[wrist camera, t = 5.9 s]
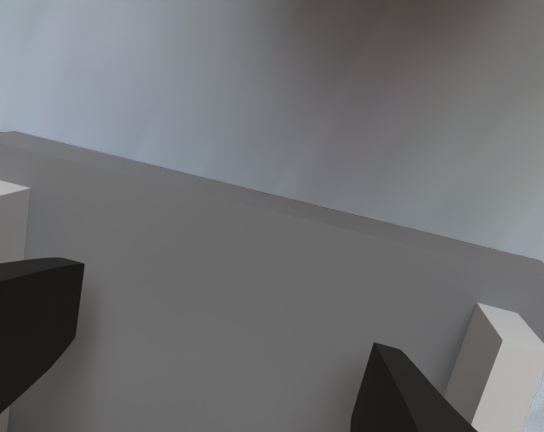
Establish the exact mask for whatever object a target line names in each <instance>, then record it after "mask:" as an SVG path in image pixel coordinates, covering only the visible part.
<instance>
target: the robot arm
mask: <svg viewBox="0 0 544 432" xmlns="http://www.w3.org/2000/svg"><path fill="white" fill-rule="evenodd" d="M84 268H85V264H84V263H81V262H77V261H73V260H70V259H66V258H62V257H49V258H37V259H28V260H21V261H13V262H6V263H0V414H1V413H2V412H3V411H4V410H5V409H6V408H8V407H9V406H10V405H11V404H12V403H13V402H14V401H15V400H16V399H17V398H19V397H20V396H21V395H22V394H23V393H24V392H25V391H26V390H27V389H29V388H30V387H31V386H32V385H33V384H34V383H35V382H36V381H37V380H38V379H39V378H40V377H42V376H43V375H44V374H45V373H46V372H47V371H48V370H49V369H50V368H51V367H52V366H53V365H54V363H55V362H56V361H57V360H58V359H59V358H60V356H61V355H62V354H63V353H64V351H65V350H66V349H67V348H68V346H69V345H70V344H71V343H72V341H73V340H74V339H75V337H76V330H77V322H78V314H79V306H80V299H81V291H82V283H83V275H84ZM350 432H478V431H477V430H476V429H475V428H474V427H473V426H472V425H471V424H470V423H468V422H467V421H466V420H465V419H464V418H463V417H462V416H461V415H460V414H459V413H458V412H457V411H456V410H455V409H454V408H453V407H452V405H451V404H450V403H449V402H448V401H447V400H446V399H445V398H444V397H443V396H442V395H441V394H440V393H439V392H438V390H437V389H436V388H435V387H434V386H433V385H432V384H431V383H430V381H429V380H428V379H427V378H426V377H425V376H424V375H423V373H422V372H421V371H420V370H419V369H418V368H417V367H416V365H415V364H414V363H413V362H412V361H411V360H410V359H409V358H408V356H407V355H406V354H405V353H404V352H403V351H401V350H400V349H398V348H394V347H390V346H387V345H383V344H379V343H376V342H374V343H373V346H372V349H371V353H370V356H369V359H368V363H367V366H366V369H365V373H364V376H363V379H362V383H361V386H360V389H359V392H358V396H357V399H356V402H355V406H354V409H353V412H352V416H351V425H350Z"/></svg>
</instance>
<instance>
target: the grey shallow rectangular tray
mask: <svg viewBox="0 0 544 432" xmlns="http://www.w3.org/2000/svg"><path fill="white" fill-rule="evenodd" d="M49 257H62V258H66V259H70V260H73V261H77V262H81V263H84V264H85V268H84V275H83V283H82V291H81V299H80V306H79V314H78V322H77V330H76V337H75V339H74V340H73V341H72V343H71V344H70V345H69V346H68V348H67V349H66V350H65V351H64V353H63V354H62V355H61V356H60V358H59V359H58V360H57V361H56V362H55V363H54V365H53V366H52V367H51V368H50V369H49V370H48V371H47V372H46V373H45V374H44V375H43V376H42V377H40V378H39V379H38V380H37V381H36V382H35V383H34V384H33V385H32V386H31V387H30V388H29V389H27V390H26V391H25V392H24V393H23V394H22V395H21V396H20V397H19V398H17V399H16V400H15V401H14V402H13V403H12V404H11V405H10V406H9V407H8V408H6V409H5V410H4V411H3V412H2V413H1V414H0V432H350V425H351V416H352V412H353V409H354V406H355V402H356V399H357V396H358V392H359V389H360V386H361V383H362V379H363V376H364V373H365V369H366V366H367V363H368V359H369V356H370V353H371V349H372V346H373V343H374V342H376V343H379V344H383V345H387V346H390V347H394V348H398V349H400V350H401V351H403V352H404V353H405V354H406V355H407V356H408V358H409V359H410V360H411V361H412V362H413V363H414V364H415V365H416V367H417V368H418V369H419V370H420V371H421V372H422V373H423V375H424V376H425V377H426V378H427V379H428V380H429V381H430V383H431V384H432V385H433V386H434V387H435V388H436V389H437V390H438V392H439V393H440V394H441V395H442V396H443V397H444V398H445V399H446V400H447V401H448V402H449V403H450V404H451V405H452V407H453V408H454V409H455V410H456V411H457V412H458V413H459V414H460V415H461V416H462V417H463V418H464V419H465V420H466V421H467V422H468V423H470V424H471V425H472V426H473V427H474V428H475V429H476V430H477V431H478V432H520V430H521V428H522V426H523V423H524V421H525V418H526V416H527V413H528V411H529V408H530V406H531V403H532V401H533V399H534V396H535V394H536V391H537V389H538V386H539V384H540V381H541V379H542V376H543V374H544V263H543V262H542V261H539V260H535V259H531V258H527V257H523V256H519V255H515V254H511V253H507V252H503V251H499V250H495V249H490V248H486V247H482V246H478V245H474V244H470V243H466V242H462V241H458V240H454V239H450V238H446V237H442V236H438V235H434V234H430V233H425V232H421V231H417V230H413V229H409V228H405V227H401V226H397V225H393V224H389V223H385V222H381V221H377V220H373V219H369V218H365V217H360V216H356V215H352V214H348V213H344V212H340V211H336V210H332V209H328V208H324V207H320V206H316V205H312V204H308V203H304V202H300V201H296V200H291V199H287V198H283V197H279V196H275V195H271V194H267V193H263V192H259V191H255V190H251V189H247V188H243V187H239V186H235V185H231V184H226V183H222V182H218V181H214V180H210V179H206V178H202V177H198V176H194V175H190V174H186V173H182V172H178V171H174V170H170V169H166V168H161V167H157V166H153V165H149V164H145V163H141V162H137V161H133V160H129V159H125V158H121V157H117V156H113V155H109V154H105V153H101V152H97V151H92V150H88V149H84V148H80V147H76V146H72V145H68V144H64V143H60V142H56V141H52V140H48V139H44V138H40V137H36V136H32V135H27V134H23V133H19V132H15V131H12V132H0V263H6V262H13V261H21V260H28V259H37V258H49Z"/></svg>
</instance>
